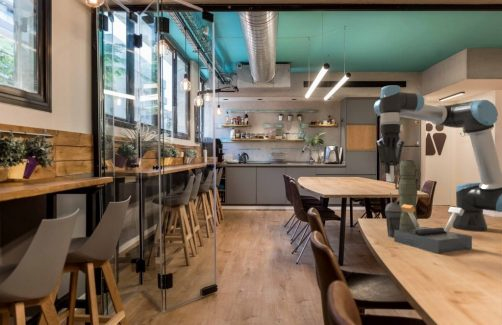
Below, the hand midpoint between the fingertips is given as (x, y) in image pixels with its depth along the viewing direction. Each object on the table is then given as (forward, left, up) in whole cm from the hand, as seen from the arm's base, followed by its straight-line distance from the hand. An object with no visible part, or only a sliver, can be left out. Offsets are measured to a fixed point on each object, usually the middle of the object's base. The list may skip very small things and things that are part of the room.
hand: (389, 181), depth 145 cm
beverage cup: (-14, -13, -27) cm, 33 cm away
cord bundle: (-16, +6, -21) cm, 27 cm away
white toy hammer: (-17, +12, -20) cm, 29 cm away
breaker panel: (-16, +6, -26) cm, 31 cm away
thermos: (-34, -24, -27) cm, 49 cm away
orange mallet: (-15, 0, -20) cm, 25 cm away
